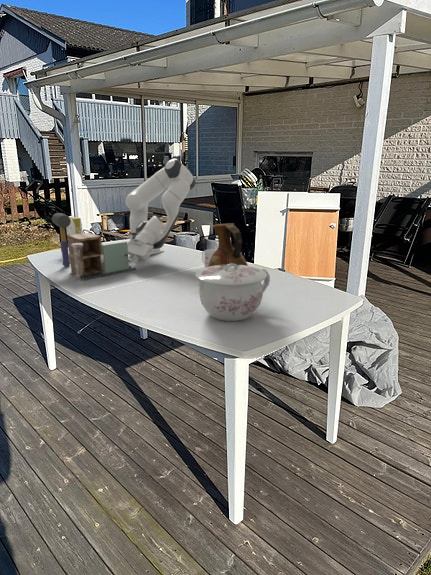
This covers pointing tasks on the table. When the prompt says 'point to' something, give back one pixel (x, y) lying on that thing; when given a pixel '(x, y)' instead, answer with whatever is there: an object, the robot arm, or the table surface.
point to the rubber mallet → (62, 234)
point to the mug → (207, 256)
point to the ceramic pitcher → (227, 246)
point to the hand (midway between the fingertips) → (129, 262)
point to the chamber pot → (231, 290)
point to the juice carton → (74, 226)
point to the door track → (101, 274)
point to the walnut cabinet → (85, 254)
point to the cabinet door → (114, 256)
